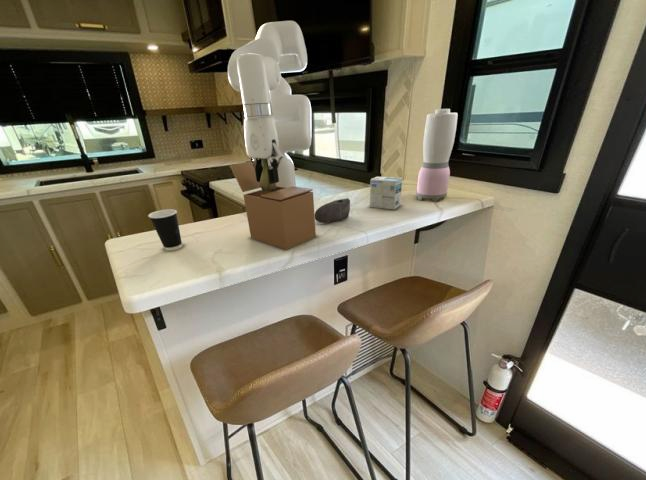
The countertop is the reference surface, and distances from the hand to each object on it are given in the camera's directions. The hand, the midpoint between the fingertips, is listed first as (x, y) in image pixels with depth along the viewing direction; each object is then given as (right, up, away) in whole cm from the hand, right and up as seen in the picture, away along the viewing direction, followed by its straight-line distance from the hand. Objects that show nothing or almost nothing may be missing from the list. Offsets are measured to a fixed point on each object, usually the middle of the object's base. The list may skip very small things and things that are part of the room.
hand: (267, 181), depth 93 cm
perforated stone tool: (+21, -7, +18) cm, 29 cm away
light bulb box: (+42, +1, +30) cm, 52 cm away
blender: (+64, +8, +39) cm, 75 cm away
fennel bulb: (0, -3, +2) cm, 3 cm away
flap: (-5, +3, +3) cm, 7 cm away
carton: (+4, -16, +7) cm, 18 cm away
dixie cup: (-31, -20, +4) cm, 36 cm away
